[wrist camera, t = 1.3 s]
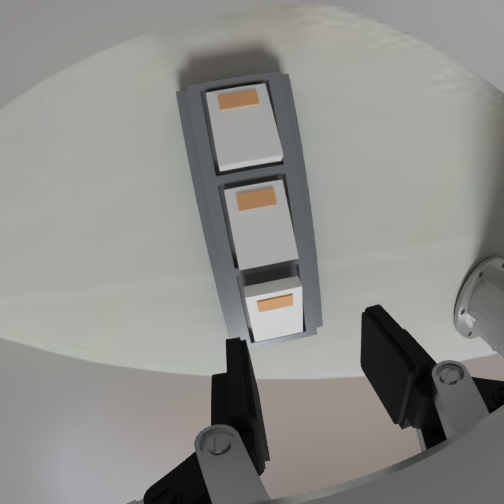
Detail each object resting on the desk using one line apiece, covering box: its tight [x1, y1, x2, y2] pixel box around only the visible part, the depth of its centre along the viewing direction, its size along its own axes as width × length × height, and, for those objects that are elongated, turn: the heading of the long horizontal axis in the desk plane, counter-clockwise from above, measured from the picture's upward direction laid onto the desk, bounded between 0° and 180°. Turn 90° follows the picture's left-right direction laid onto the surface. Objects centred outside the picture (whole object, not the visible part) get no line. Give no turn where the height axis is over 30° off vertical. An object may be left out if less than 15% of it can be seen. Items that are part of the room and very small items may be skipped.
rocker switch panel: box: [176, 71, 323, 349], centre depth 25 cm, size 23×9×4 cm, turn 10°
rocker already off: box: [243, 276, 303, 342], centre depth 25 cm, size 6×4×1 cm
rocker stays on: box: [206, 83, 283, 171], centre depth 20 cm, size 6×4×1 cm
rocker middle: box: [224, 180, 299, 270], centre depth 23 cm, size 6×4×1 cm
